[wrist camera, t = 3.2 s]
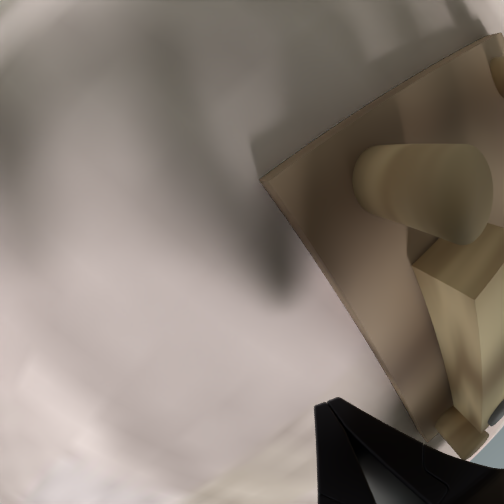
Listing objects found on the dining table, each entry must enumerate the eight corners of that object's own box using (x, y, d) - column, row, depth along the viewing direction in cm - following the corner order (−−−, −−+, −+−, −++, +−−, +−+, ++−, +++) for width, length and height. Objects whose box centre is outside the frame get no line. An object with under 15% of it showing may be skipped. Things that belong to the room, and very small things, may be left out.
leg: (485, 372, 13) (517, 398, 10) (453, 406, 13) (483, 436, 10) (461, 215, 9) (529, 236, 6) (411, 265, 9) (481, 304, 6)
